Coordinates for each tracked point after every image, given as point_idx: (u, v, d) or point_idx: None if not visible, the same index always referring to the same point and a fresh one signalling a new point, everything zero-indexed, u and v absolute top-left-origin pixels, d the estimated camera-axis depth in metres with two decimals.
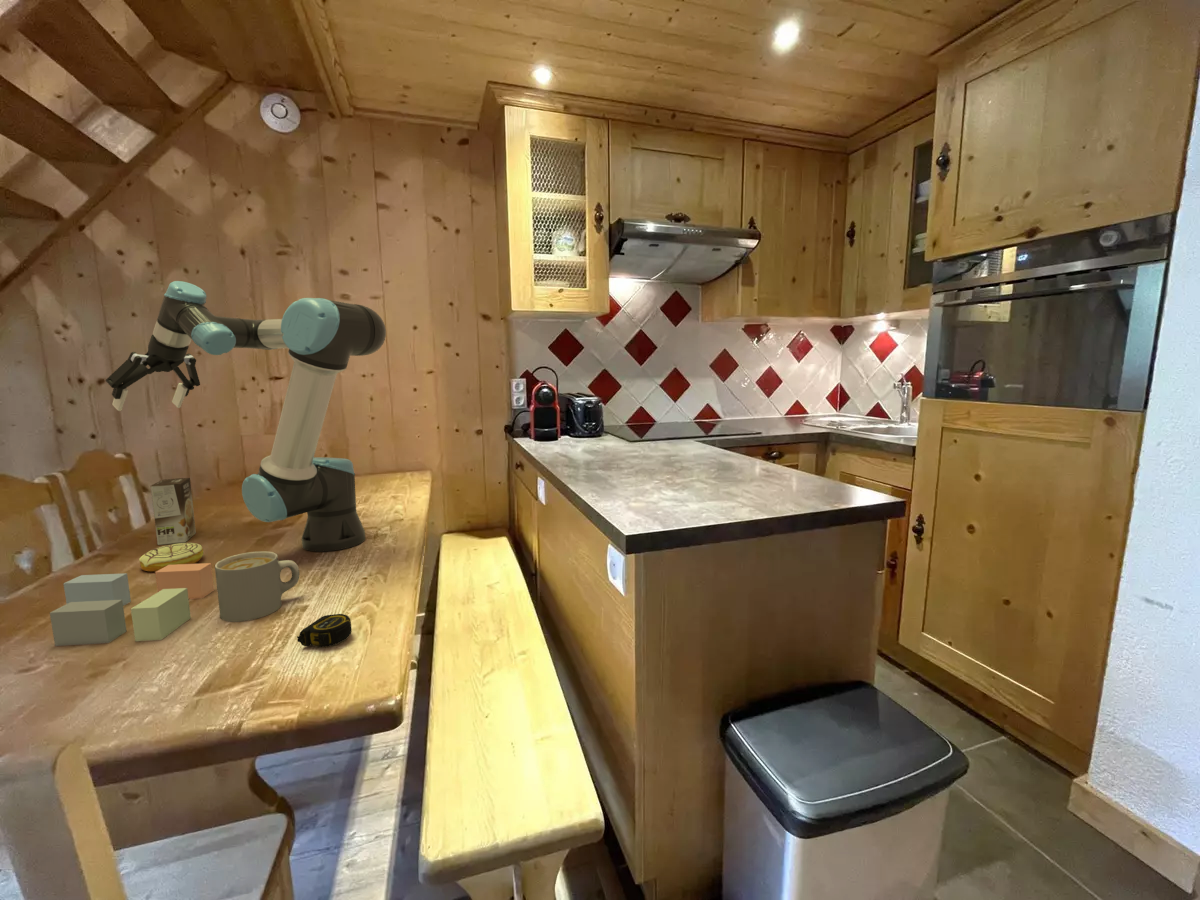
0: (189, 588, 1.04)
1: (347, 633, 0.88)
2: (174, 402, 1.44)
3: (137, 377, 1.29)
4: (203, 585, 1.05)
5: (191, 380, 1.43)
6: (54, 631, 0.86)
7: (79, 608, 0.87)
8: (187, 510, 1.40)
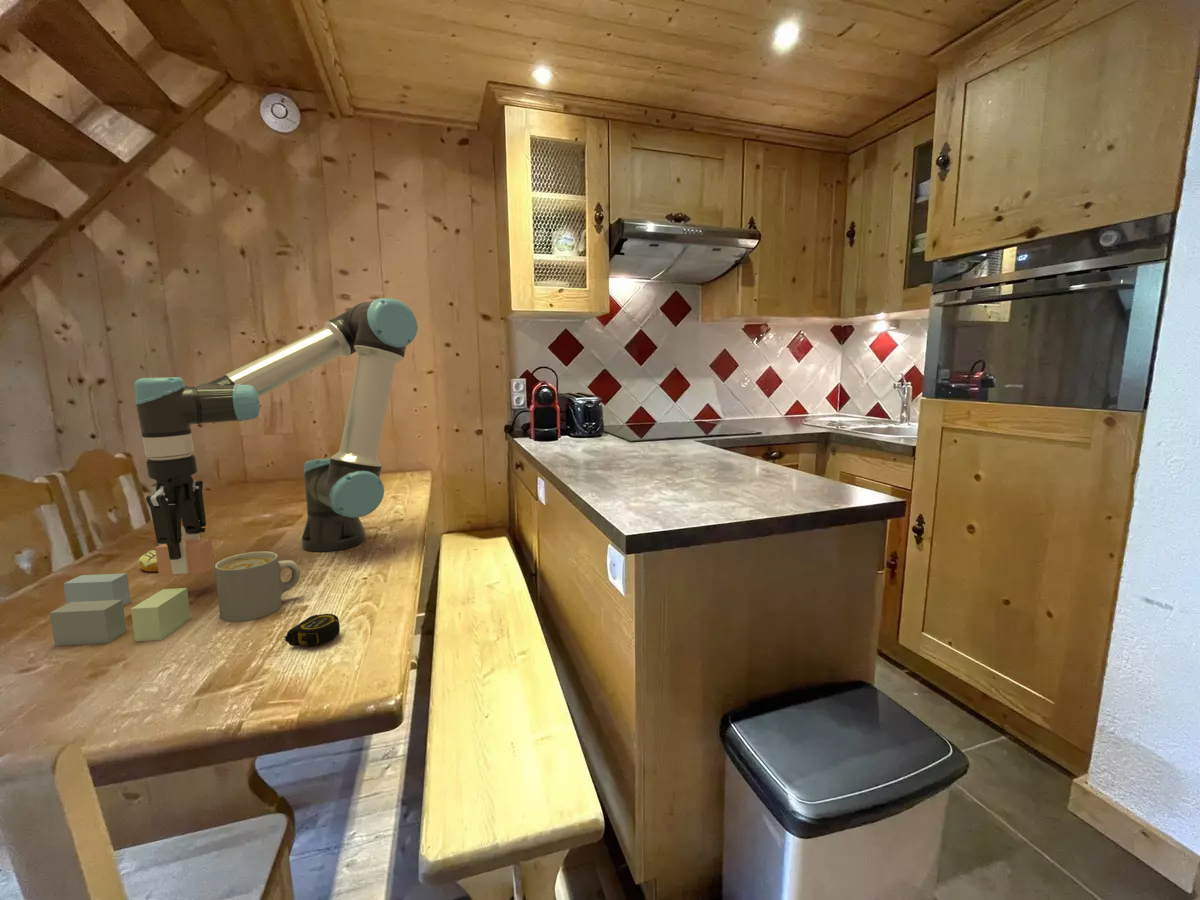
0: (189, 563, 1.04)
1: (335, 633, 0.88)
2: None
3: (177, 519, 1.02)
4: (203, 560, 1.05)
5: None
6: (54, 631, 0.86)
7: (79, 608, 0.87)
8: None
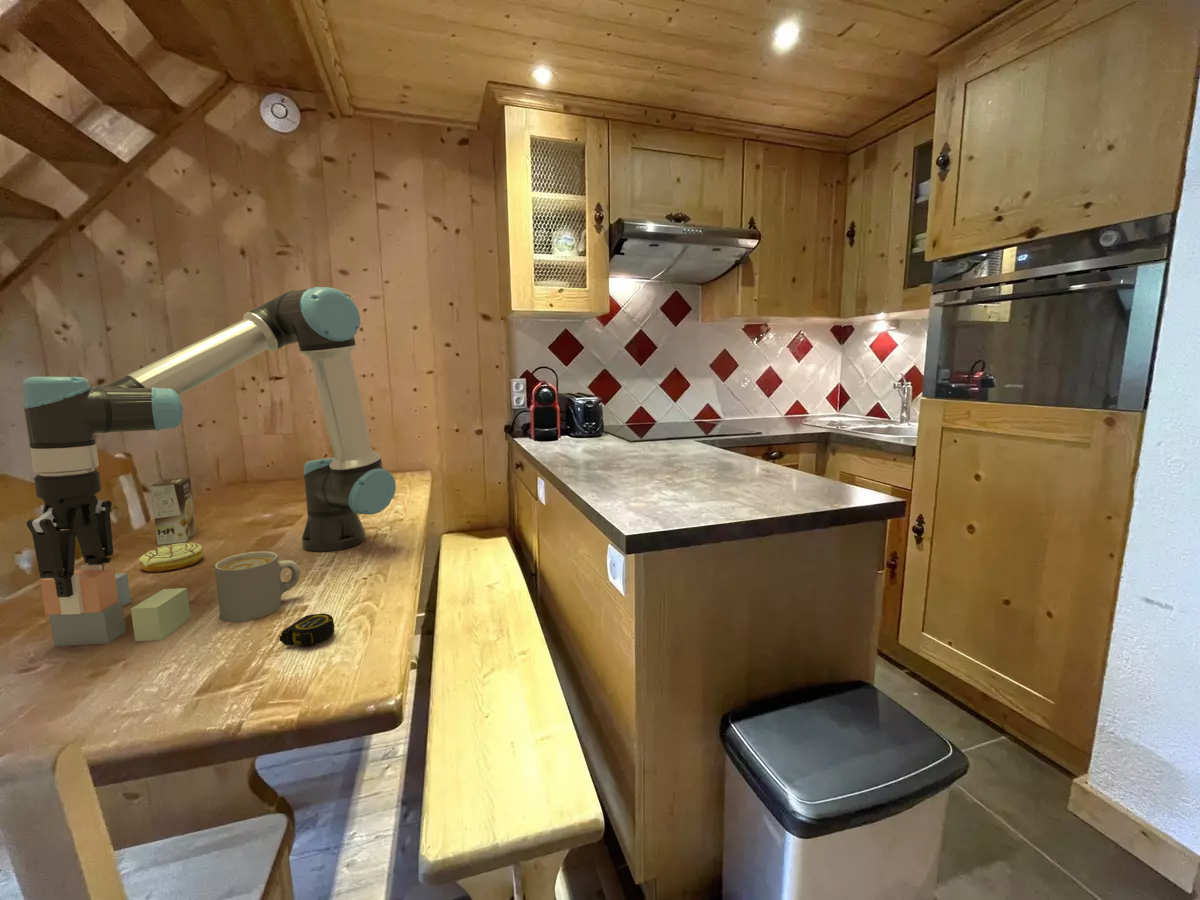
0: (83, 599, 0.86)
1: (329, 633, 0.88)
2: None
3: (70, 548, 0.84)
4: (101, 595, 0.87)
5: None
6: (54, 633, 0.86)
7: None
8: (187, 510, 1.40)
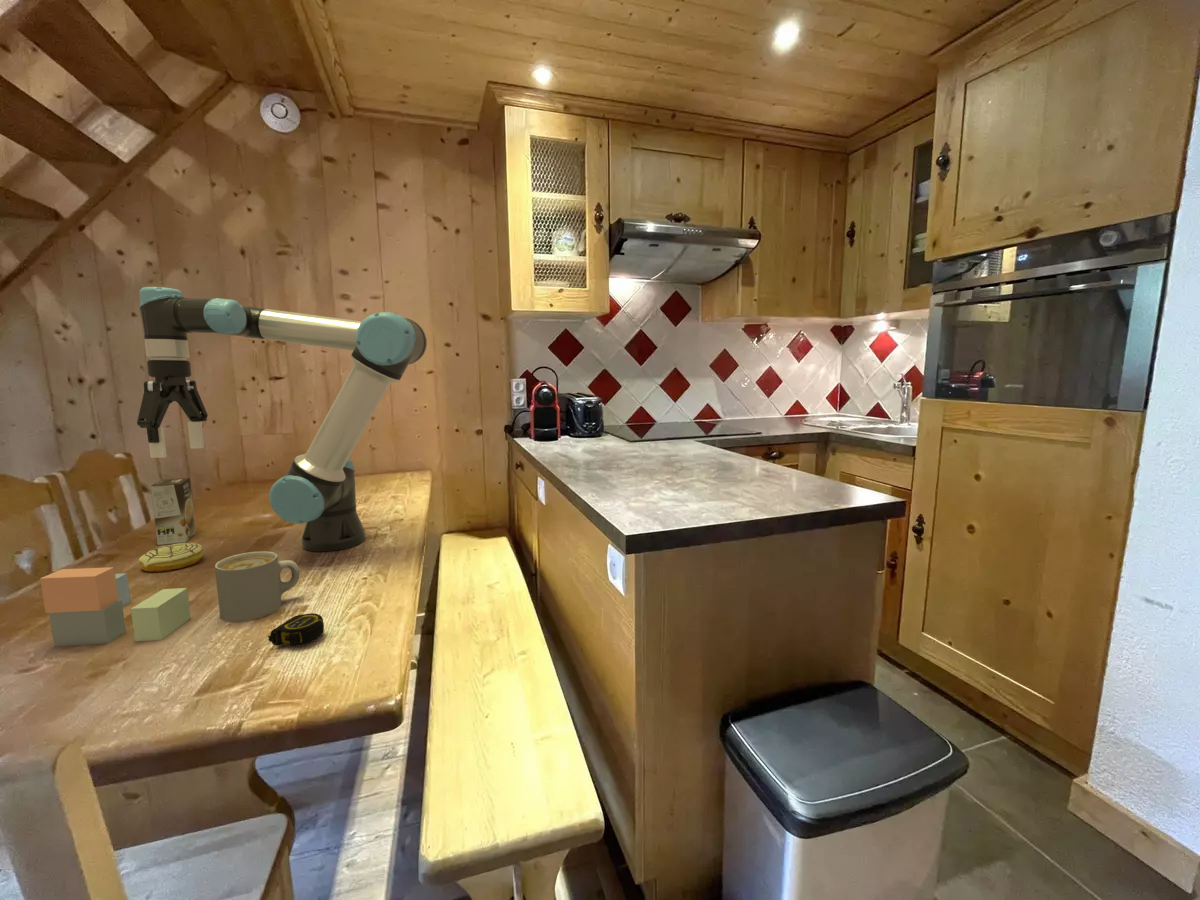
0: (83, 598, 0.86)
1: (319, 632, 0.88)
2: (194, 446, 1.26)
3: (163, 409, 1.13)
4: (101, 594, 0.87)
5: None
6: (54, 631, 0.86)
7: None
8: (187, 510, 1.40)
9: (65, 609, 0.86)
